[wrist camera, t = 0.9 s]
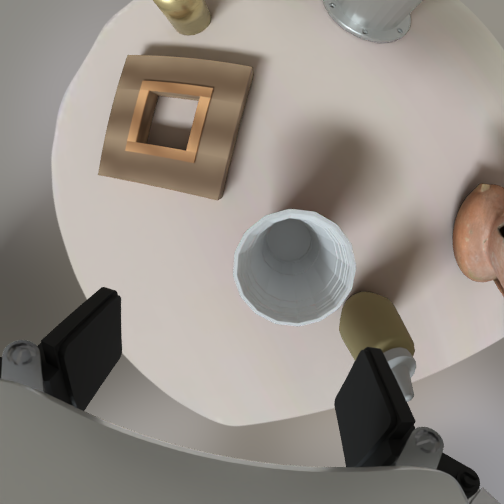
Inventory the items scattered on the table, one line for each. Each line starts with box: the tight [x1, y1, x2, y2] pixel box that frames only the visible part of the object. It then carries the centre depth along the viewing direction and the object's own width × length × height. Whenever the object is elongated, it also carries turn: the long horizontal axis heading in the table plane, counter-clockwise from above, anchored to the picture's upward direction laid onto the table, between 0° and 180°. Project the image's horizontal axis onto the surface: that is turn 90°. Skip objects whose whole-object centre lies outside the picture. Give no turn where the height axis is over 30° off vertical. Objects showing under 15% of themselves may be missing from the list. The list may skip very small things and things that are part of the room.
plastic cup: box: [233, 209, 356, 326], centre depth 30 cm, size 11×11×12 cm
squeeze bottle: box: [339, 292, 416, 401], centre depth 30 cm, size 8×8×18 cm
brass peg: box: [153, 0, 211, 35], centre depth 23 cm, size 5×5×10 cm
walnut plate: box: [98, 55, 254, 200], centre depth 31 cm, size 16×16×3 cm
